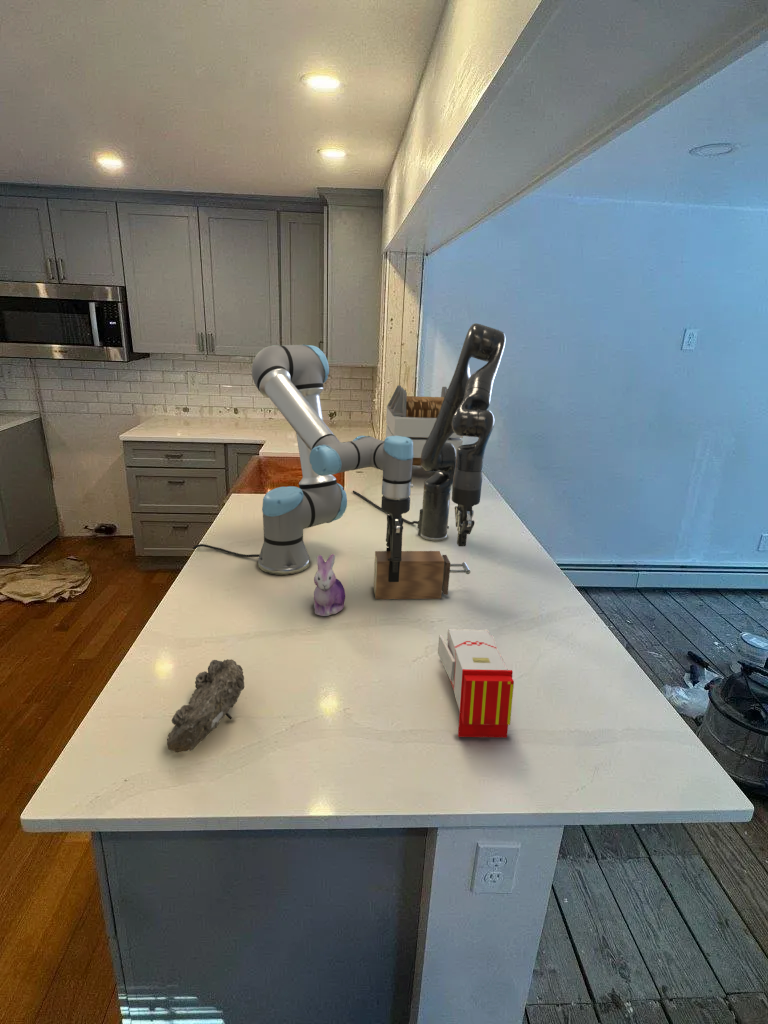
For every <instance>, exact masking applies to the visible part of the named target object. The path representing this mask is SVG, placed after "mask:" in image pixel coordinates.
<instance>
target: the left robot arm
mask: <svg viewBox="0 0 768 1024" xmlns="http://www.w3.org/2000/svg"><path fill="white" fill-rule="evenodd" d="M329 374H330V365H329V361H328V358H327V356H326V355H325V353H324V351H322V349H320V348H319V347H318V346H316V345H310V344H279V345H278V344H273V345H268V346H266V347H264V348H262V349H261V350H259V352H257V354H256V355H255V356H254V359H253V360H252V365H251V377H252V380H253V383H254V386H255V387H256V389H257V390H258V392H260V394H261V395H262V396H263V397H265V398H268V399H270V401H271V402H272V403H273V405H274V406H275V407H276V408H277V411H279V412H280V414H281V415H282V416H283V417H284V419H285V420H286V422H288V424H289V425H290V426H291V428H292V429H293V431H295V434H296V441H297V448H298V454H299V460H300V468H301V474H302V477H301V480H300V481H299V482H298V486H294V485H288V486H279V487H276V488H273V489H271V490H269V491H267V492H266V493H265V494H264V495H263V498H262V508H261V512H262V525H263V527H262V529H263V543H262V546H261V549H260V553H259V554H257V553H256V554H255V553H254V554H253V553H251V554H244V553H238V552H234V551H231V550H227V549H225V548H223V547H222V548H221V547H217V546H213V545H209V544H205V543H199V544H196V545H194V546H193V547H192V549H193V550H196V549H197V548H201V547H202V548H207V549H212V550H216V551H220V552H223V553H226V554H229V555H233V556H237V557H240V558H241V557H242V558H258V559H257V562H258V563H257V564H258V569H260V570H261V571H262V572H263V573H266V574H270V575H274V576H275V575H276V576H288V575H295V574H298V573H299V574H300V573H302V572H304V571H305V570H307V569H308V568H309V566H310V556H309V553H308V550H307V547H306V544H305V542H304V530H305V529H309V528H313V527H316V526H320V525H324V524H330V523H332V522H335V521H338V520H339V519H341V518H342V517H343V515H344V514H345V513H346V510H347V507H348V496H347V492H346V490H345V489H344V487H343V485H342V484H340V483H338V481H337V478H336V476H334V475H337V474H340V473H344V472H350V471H356V470H361V469H362V470H363V469H367V468H374V469H377V470H380V471H382V479H381V495H382V496H381V504H380V505H381V506H380V507H381V508H382V510H383V511H384V513H385V512H386V513H385V514H387V513H388V514H387V515H386V533H385V542H386V544H385V545H386V550H385V551H391V557H390V558H388V561H389V580H388V581H389V582H399V569H400V561H401V560H402V558H401V553H402V551H403V532H404V526H403V525H404V521H403V518H404V517H403V515H404V514H407V513H408V512H409V511H411V497H410V496H411V492H412V491H411V488H413V487H414V484H413V483H412V474H413V466H412V463H413V456H414V454H413V441H412V440H411V439H410V438H408V437H404V436H403V437H402V436H389V437H387V438H386V437H385V438H384V440H382V439H379V438H376V437H374V436H370V435H358V436H357V437H355V438H353V439H352V440H350V441H349V440H348V441H342V442H341V441H340V440H339V439H338V437H337V436H336V435H335V434H334V433H333V431H332V430H331V428H329V426H328V425H327V424H326V422H324V417H323V412H322V411H323V410H322V404H321V397H320V395H321V394H322V392H323V390H324V384H325V383H326V382H327V381H328V379H329ZM382 510H381V511H382ZM383 511H382V512H383Z"/></svg>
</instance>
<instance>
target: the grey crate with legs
mask: <svg viewBox="0 0 768 1024" xmlns="http://www.w3.org/2000/svg"><path fill="white" fill-rule="evenodd" d="M447 390H448V387H447V386H442V387H441V392H440V393H441V394H440V396H415V395H414V396H413V395H412V396H411V395H407V394H408V393H407V390H406V389H404V388H403V387H402V385H399V384H398V385H397V386H396V388H395V390H394V392H393V394H392V395H391V398H390V400H389V402H388V404H387V405H386V413H385V414H386V415H385V423H386V428H385V438H387V437H389V436H402V437H403V436H404V437H408V438H410V439H411V440H412V441H413V454H414V456H413V463H412V467H415V466H416V467H417V466H418V467H422V465H421V452H422V449H423V447H424V445H425V443H426V441H427V439H428V437H429V435H430V433H431V431H432V429H433V426H434V424H435V422H436V419H437V417H438V414H439V412H440V409H441V405H442V403H443V400H444V397H445V395H446V392H447ZM463 438H464V436H459V435H457V434H455V432H454V433H453V434H452V435H451V436H450V437H449V438H448V440H447V441H446V443H451V444H452V445H453V446H454V448H455V451H456V454H457V449H458V447H459V446H461V445H463V442H464V441H463V440H462V439H463Z"/></svg>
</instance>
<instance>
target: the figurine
mask: <svg viewBox="0 0 768 1024" xmlns="http://www.w3.org/2000/svg"><path fill="white" fill-rule="evenodd" d="M335 559H336V555H335V554H334V553H331V554H330V555H329V557H328V558H327V559H326V561H325V559H324V557H323V556H322V554H319V555H317V557H316V566H317V570H316V572H315V574H314V577H313V582H314V585H315V586H316V587H315V589H314V591H313V601H314V604H313V609H314V614H315V615H316V616H321V617H328V616H331V615H337V614H338V613H340V612H341V611H342V610H343V609H344V608H345V604H346V603H345V601H346V590H345V586H344V585H343V583H342V581H340V580H339V579H338V578H337V577H336V574H335V572H334V570H333V568H334V563H335Z"/></svg>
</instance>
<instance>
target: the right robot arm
mask: <svg viewBox="0 0 768 1024" xmlns="http://www.w3.org/2000/svg"><path fill="white" fill-rule="evenodd" d="M506 340H507V339H506V334H505V332H504V331H502V330H499V329H497V328H494V327H491V326H487V325H484V324H482V323H476V322H475V323H473V324H471V325H470V327H469V329H468V330H467V332H466V335H465V339H464V341H463V344H462V347H461V351H460V354H459V357H458V360H457V364H456V367H455V370H454V372H453V375H452V378H451V380H450V382H449V385H448V387H447V389H448V390H447V392H446V395H445V397H444V400H443V403H442V405H441V409H440V412H439V414H438V417H437V419H436V422H435V424H434V426H433V429H432V431H431V433H430V435H429V437H428V439H427V441H426V443H425V445H424V447H423V449H422V452H421V465H422V466H421V467H422V469H423V470H424V471H426V472H434V473H433V474H432V475H431V476H429V477H428V478H426V479H425V480H424V482H423V493H422V496H423V497H422V506H421V508H420V509H419V516H418V520H412V521H410V520H407V519H405V518H404V517H402V518H403V523H406V524H408V525H411V526H412V525H415V524H416V525H417V527H416V528H417V535H418V536H420V538H421V539H424V540H426V541H432V542H440V541H444V540H446V539H447V538H448V530H449V529H450V526H449V517H450V516H449V514H450V504H451V501H452V503H454V504H456V506H454V517H455V518H454V519H455V527H456V531H457V538H456V539H457V541H456V544H457V546H458V547H462V548H463V547H466V546H467V539H468V535H470V534H471V533H472V531H473V529H474V526H475V520H473V517H474V509H473V507H474V506H477V505H479V504H480V503H481V494H482V485H483V467H484V457H485V453H486V452H485V451H486V447H487V445H488V443H489V439H490V437H491V435H492V432H493V430H494V427H495V423H496V421H495V416H494V414H493V412H492V411H491V410H489V407H490V406H491V399H492V394H493V393H492V392H493V387H494V383H495V379H496V376H497V373H498V369H499V368H500V364H501V360H502V357H503V355H504V351H505V346H506ZM471 358H473V359H476V360H479V361H482V362H483V361H484V362H486V364H484V365H483V366H481V367H480V368H479V369H477V370H476V371H474V372H473V373H472V374H471V371H470V370H471V368H470V361H471ZM454 432H455V434H457V435H459V436H463V437H468V438H469V437H470V438H478V439H477V441H475V442H474V443H468V444H462V445H461V446H459V447H458V449H457V454H456V451H455V448H454V446H453V445H452V444H451V443H446V441H447V440H448V438H449V437H450V436H451V435H452V434H453V433H454ZM352 493H353V494H355V495H357V496H359V497H360V498H361V499H363V500H364V501H366V502H368V503H369V504H370V505H371V506H373V507H375V508H377V509H378V510H380V511H382V512H384V511H383V510H382V508H381V506H379V505H378V504H376V503H374V502H373V501H371V500H369V498H367V497H366V496H364V495H363V494H361V493H360V492H358V491H356V490H352ZM384 513H385V514H387V515H388V513H386V512H384Z"/></svg>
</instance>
